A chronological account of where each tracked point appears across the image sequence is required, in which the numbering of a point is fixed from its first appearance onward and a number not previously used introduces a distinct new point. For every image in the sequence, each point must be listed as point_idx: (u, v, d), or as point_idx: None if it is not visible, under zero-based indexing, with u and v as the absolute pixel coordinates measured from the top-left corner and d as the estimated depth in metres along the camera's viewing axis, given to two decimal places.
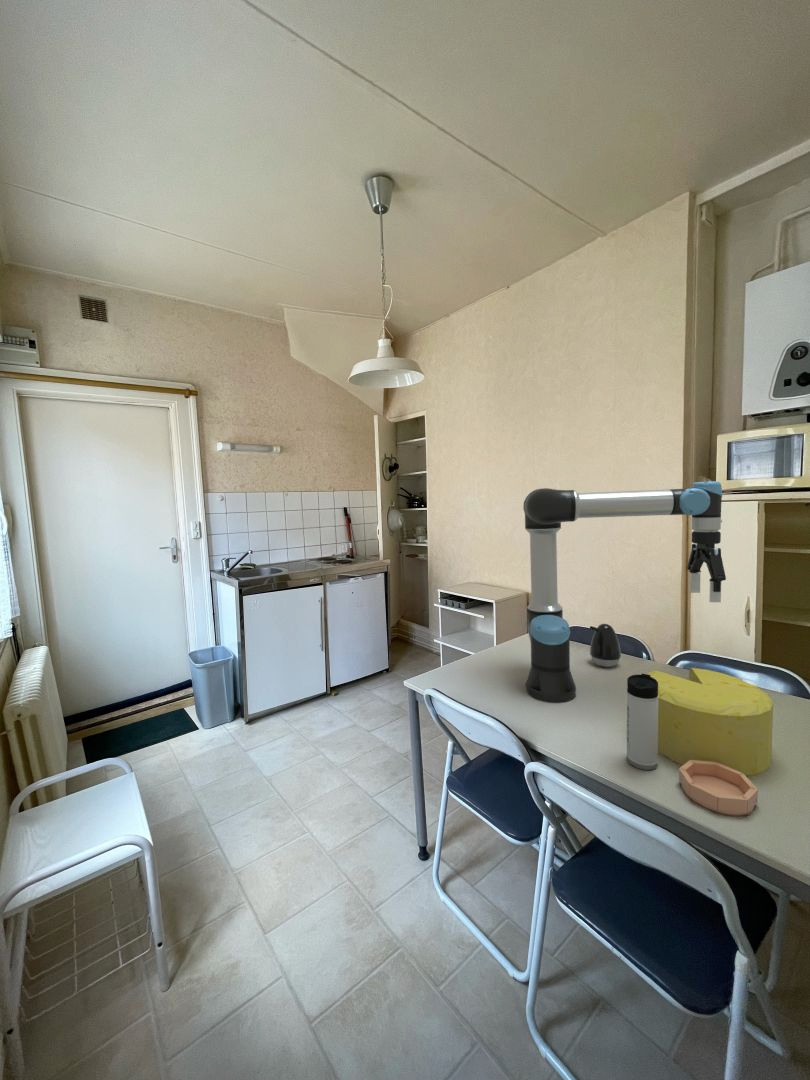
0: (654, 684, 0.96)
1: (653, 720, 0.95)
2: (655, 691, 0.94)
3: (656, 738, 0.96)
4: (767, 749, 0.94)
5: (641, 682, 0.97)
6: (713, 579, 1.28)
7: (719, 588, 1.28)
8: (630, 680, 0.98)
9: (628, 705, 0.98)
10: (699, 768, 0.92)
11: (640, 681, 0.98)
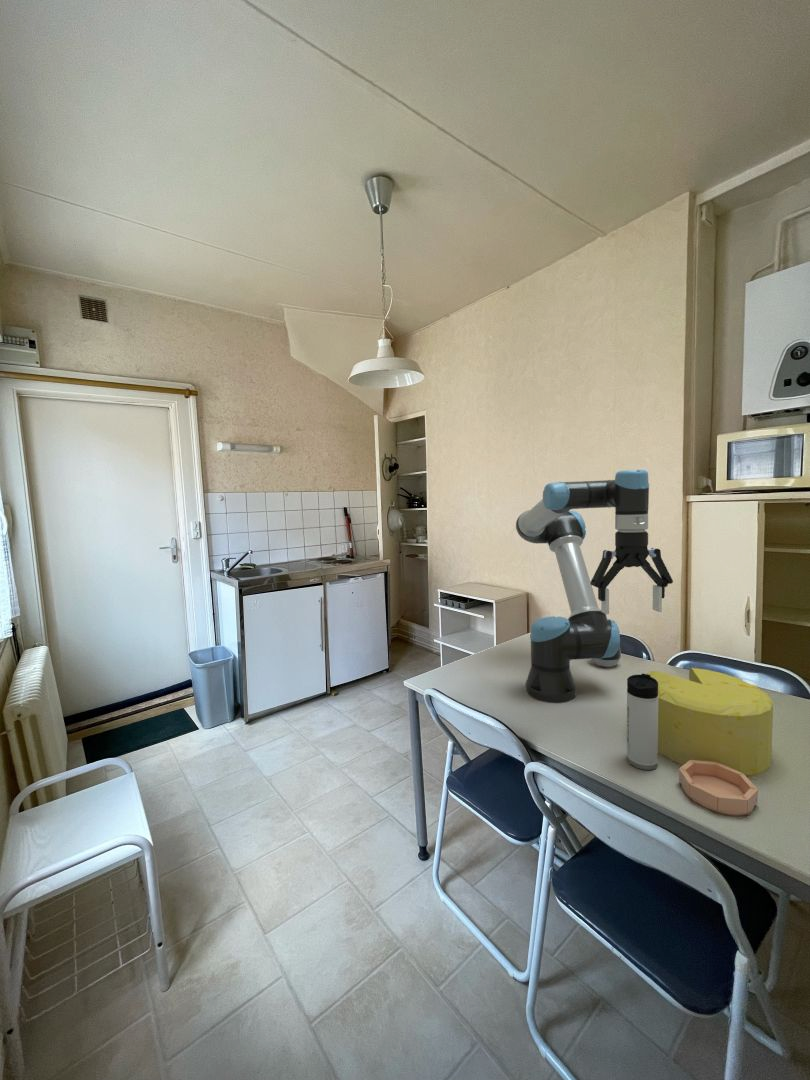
0: (654, 684, 0.96)
1: (653, 720, 0.95)
2: (655, 691, 0.94)
3: (656, 738, 0.96)
4: (767, 749, 0.94)
5: (641, 682, 0.97)
6: None
7: (600, 596, 1.11)
8: (630, 680, 0.98)
9: (628, 705, 0.98)
10: (699, 768, 0.92)
11: (640, 681, 0.98)
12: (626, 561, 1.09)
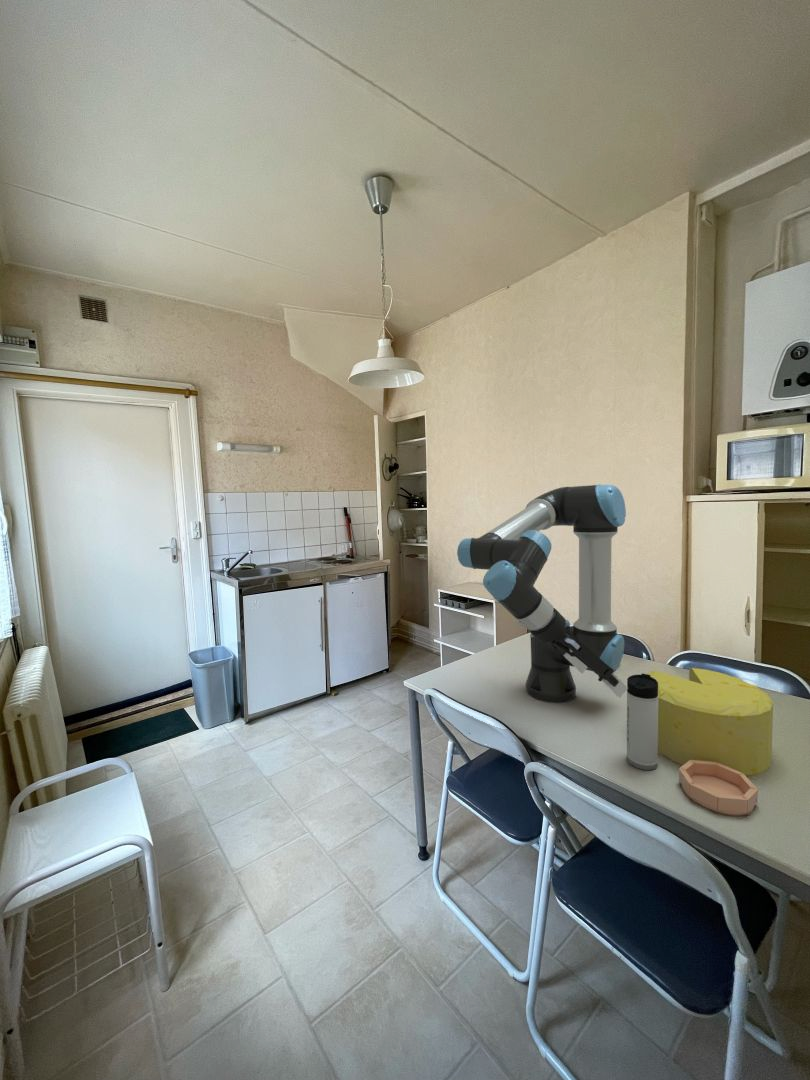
0: (654, 684, 0.96)
1: (653, 720, 0.95)
2: (655, 691, 0.94)
3: (656, 738, 0.96)
4: (767, 749, 0.94)
5: (641, 682, 0.97)
6: None
7: None
8: (630, 680, 0.98)
9: (628, 705, 0.98)
10: (699, 768, 0.92)
11: (640, 681, 0.98)
12: None
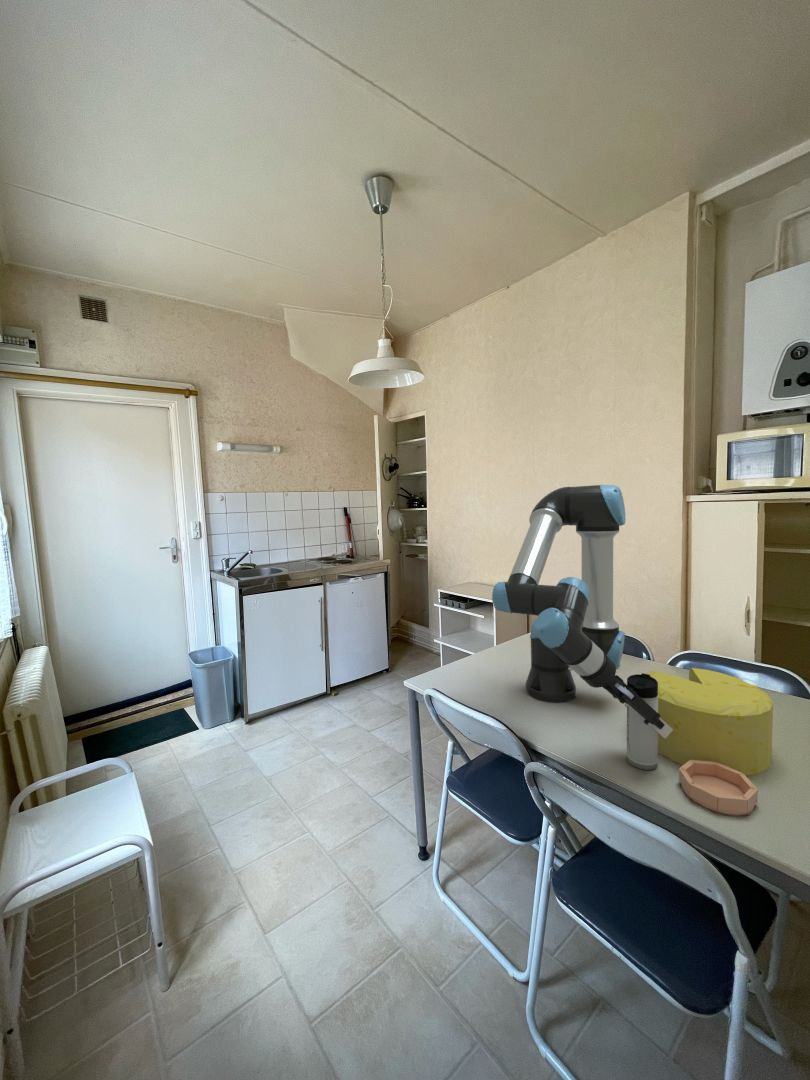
0: (654, 684, 0.96)
1: None
2: (655, 691, 0.95)
3: (656, 738, 0.96)
4: (767, 749, 0.94)
5: (641, 682, 0.97)
6: None
7: None
8: (630, 680, 0.99)
9: (628, 705, 0.98)
10: (699, 768, 0.92)
11: (640, 681, 0.98)
12: (604, 687, 0.98)
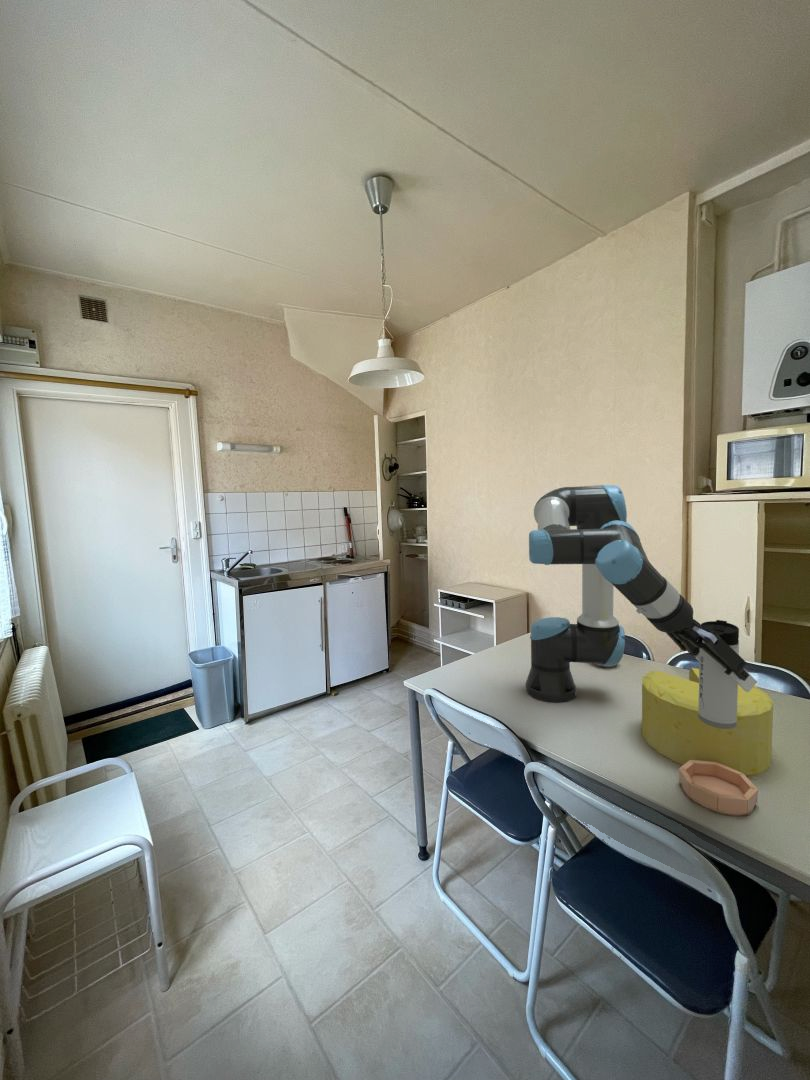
0: (734, 630, 0.83)
1: None
2: (736, 637, 0.82)
3: (736, 692, 0.83)
4: (767, 749, 0.94)
5: (718, 628, 0.84)
6: None
7: None
8: (704, 627, 0.86)
9: (702, 655, 0.85)
10: (699, 768, 0.92)
11: (716, 627, 0.85)
12: (675, 635, 0.85)
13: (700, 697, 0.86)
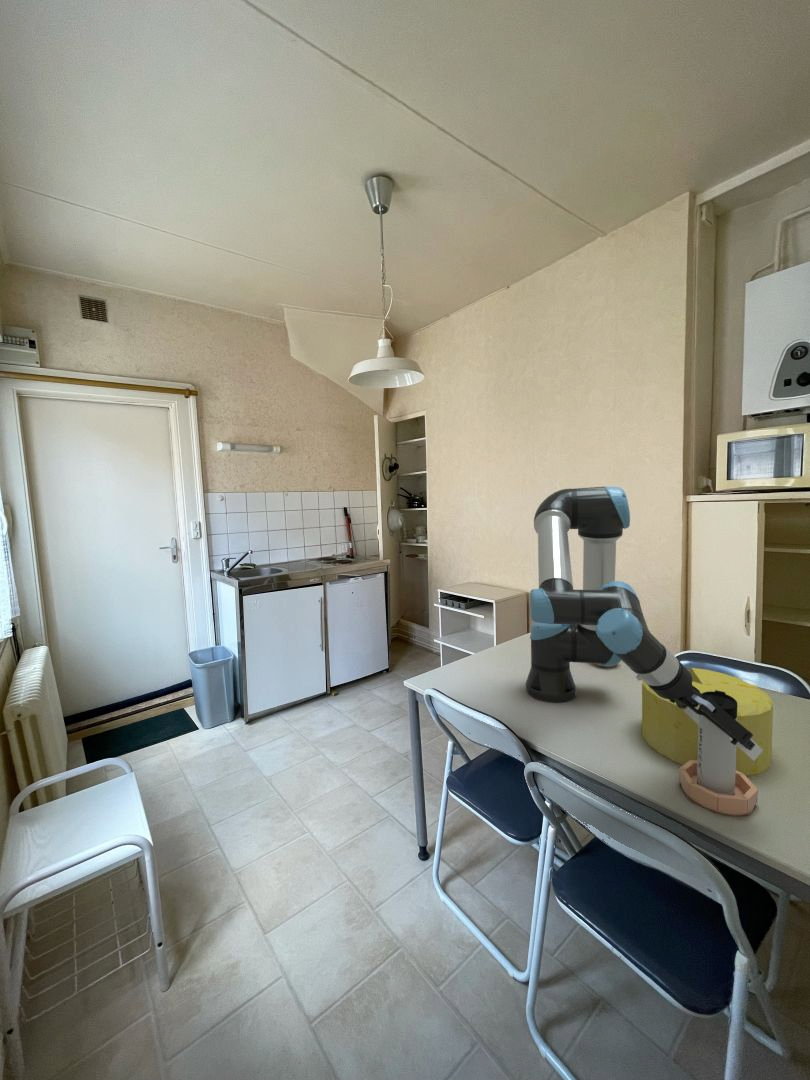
0: (732, 703, 0.84)
1: (732, 744, 0.83)
2: (735, 712, 0.83)
3: (735, 764, 0.84)
4: (767, 749, 0.94)
5: (717, 701, 0.85)
6: None
7: None
8: None
9: (701, 727, 0.86)
10: None
11: (715, 699, 0.86)
12: None
13: (699, 767, 0.87)
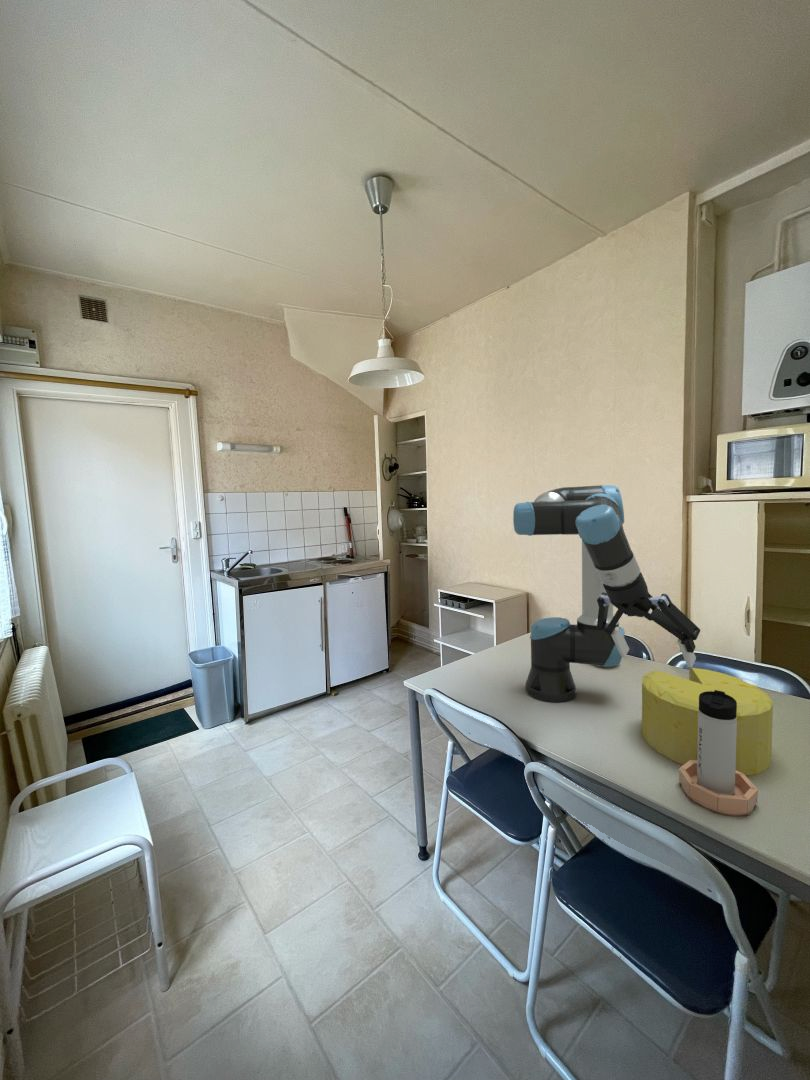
0: (732, 703, 0.84)
1: (732, 743, 0.83)
2: (734, 711, 0.83)
3: (734, 764, 0.84)
4: (767, 749, 0.94)
5: (717, 701, 0.85)
6: None
7: None
8: (702, 698, 0.87)
9: (701, 726, 0.86)
10: None
11: (714, 699, 0.86)
12: (620, 611, 0.89)
13: (699, 767, 0.87)
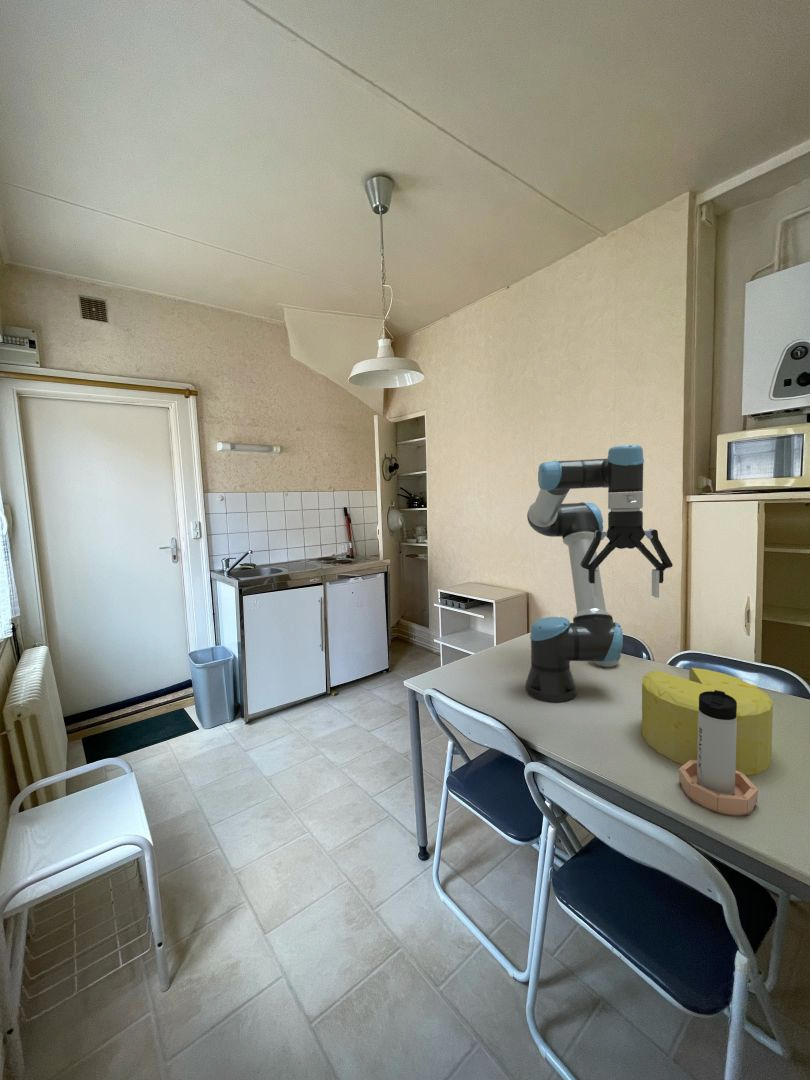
0: (732, 703, 0.84)
1: (732, 743, 0.83)
2: (734, 711, 0.83)
3: (734, 764, 0.84)
4: (767, 749, 0.94)
5: (717, 701, 0.85)
6: None
7: (589, 578, 1.07)
8: (702, 698, 0.87)
9: (701, 726, 0.86)
10: None
11: (714, 699, 0.86)
12: (617, 542, 1.03)
13: (699, 767, 0.87)
